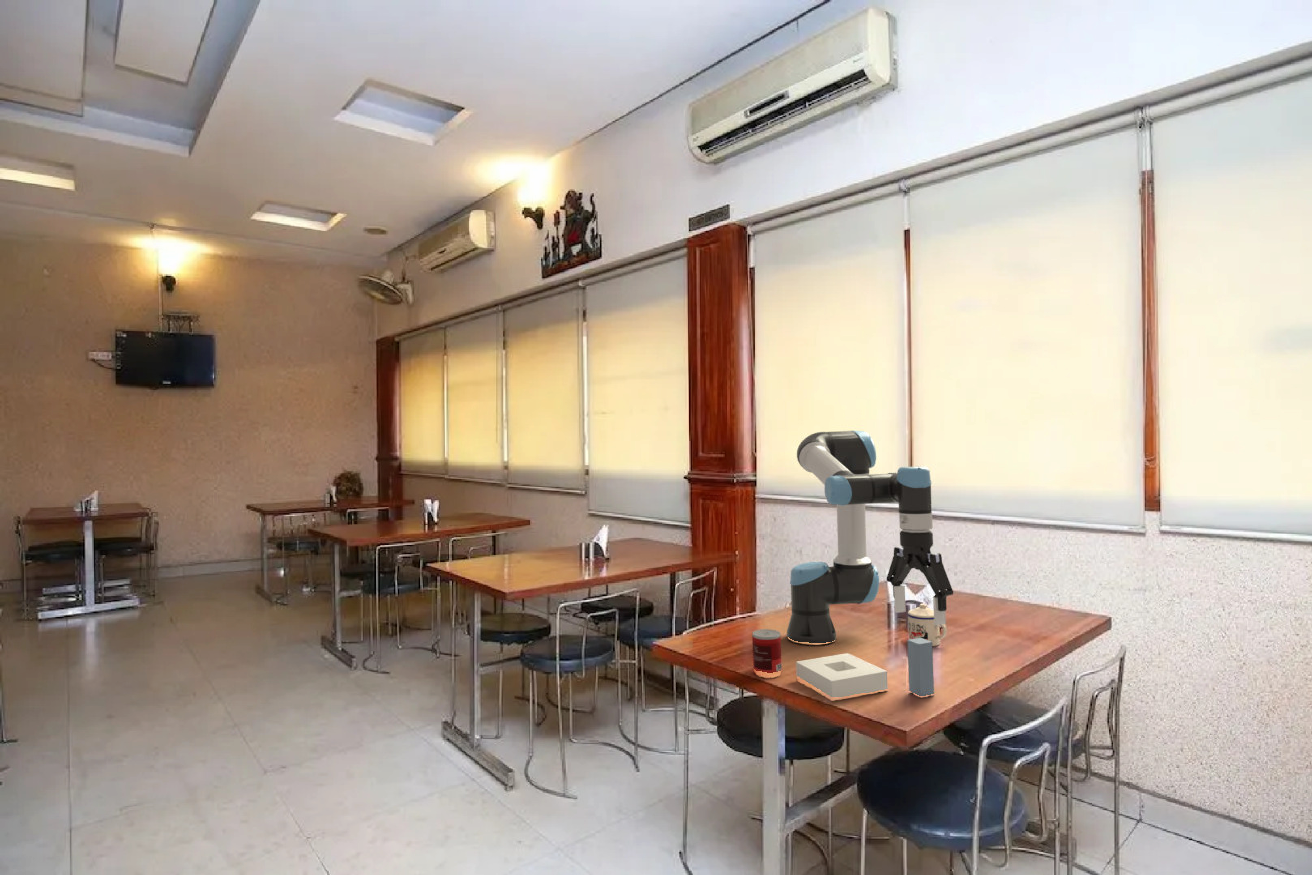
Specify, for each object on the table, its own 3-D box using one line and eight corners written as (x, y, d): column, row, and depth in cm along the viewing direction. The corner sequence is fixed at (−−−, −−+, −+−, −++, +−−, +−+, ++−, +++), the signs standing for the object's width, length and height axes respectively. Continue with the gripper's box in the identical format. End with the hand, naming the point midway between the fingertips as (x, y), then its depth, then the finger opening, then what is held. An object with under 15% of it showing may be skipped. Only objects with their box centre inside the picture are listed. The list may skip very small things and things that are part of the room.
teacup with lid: (902, 642, 209) (900, 603, 209) (920, 636, 214) (919, 599, 214) (937, 651, 199) (936, 611, 199) (955, 645, 204) (954, 606, 204)
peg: (909, 692, 169) (907, 639, 169) (922, 690, 170) (920, 637, 170) (920, 698, 165) (918, 644, 165) (934, 695, 166) (932, 641, 166)
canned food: (778, 668, 190) (777, 628, 190) (785, 678, 182) (783, 636, 182) (751, 669, 189) (749, 629, 189) (756, 679, 181) (754, 637, 181)
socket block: (796, 680, 179) (796, 661, 179) (848, 671, 185) (847, 653, 185) (832, 701, 164) (832, 681, 164) (887, 691, 170) (887, 671, 170)
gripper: (870, 526, 178) (873, 608, 178) (941, 537, 154) (945, 632, 154) (894, 524, 180) (897, 605, 180) (967, 534, 157) (971, 627, 157)
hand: (919, 618), depth 167 cm, fingers open, 13 cm apart
